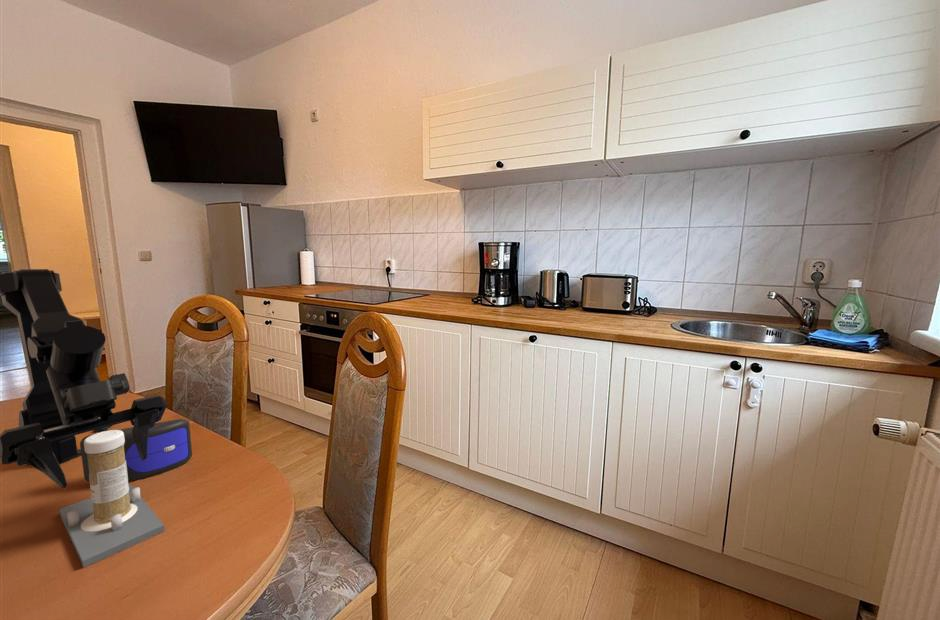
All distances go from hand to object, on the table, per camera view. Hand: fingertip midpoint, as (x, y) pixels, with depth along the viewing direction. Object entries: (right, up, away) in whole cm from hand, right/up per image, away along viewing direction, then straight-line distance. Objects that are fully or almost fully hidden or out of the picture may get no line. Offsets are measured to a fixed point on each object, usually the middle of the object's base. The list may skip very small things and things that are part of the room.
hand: (107, 472), depth 59 cm
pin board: (-1, -9, +2) cm, 9 cm away
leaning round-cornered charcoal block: (-9, -7, +17) cm, 20 cm away
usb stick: (-35, -4, +37) cm, 51 cm away
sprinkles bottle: (-1, -8, +2) cm, 8 cm away
